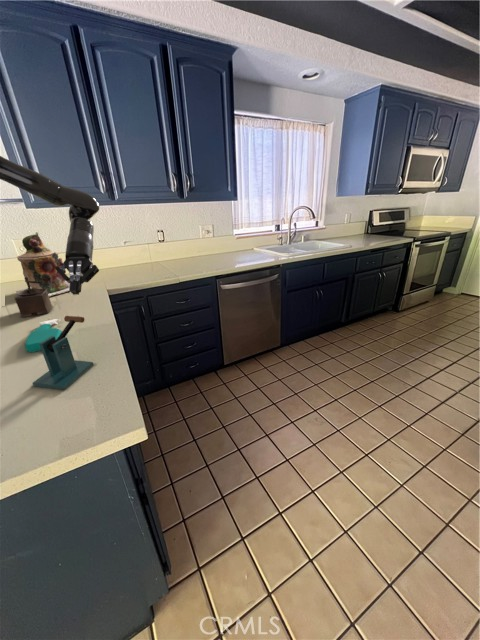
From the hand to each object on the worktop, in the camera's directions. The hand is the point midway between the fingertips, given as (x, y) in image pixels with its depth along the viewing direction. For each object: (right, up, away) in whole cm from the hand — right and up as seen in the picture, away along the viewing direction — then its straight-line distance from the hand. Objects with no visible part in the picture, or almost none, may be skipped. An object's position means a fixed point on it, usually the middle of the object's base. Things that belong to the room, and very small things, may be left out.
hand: (75, 293), depth 82 cm
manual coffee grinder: (-41, -4, +42) cm, 59 cm away
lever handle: (0, -13, -4) cm, 13 cm away
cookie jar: (-57, +8, +69) cm, 90 cm away
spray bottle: (-23, -14, +19) cm, 33 cm away
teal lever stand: (-1, -25, -4) cm, 25 cm away
